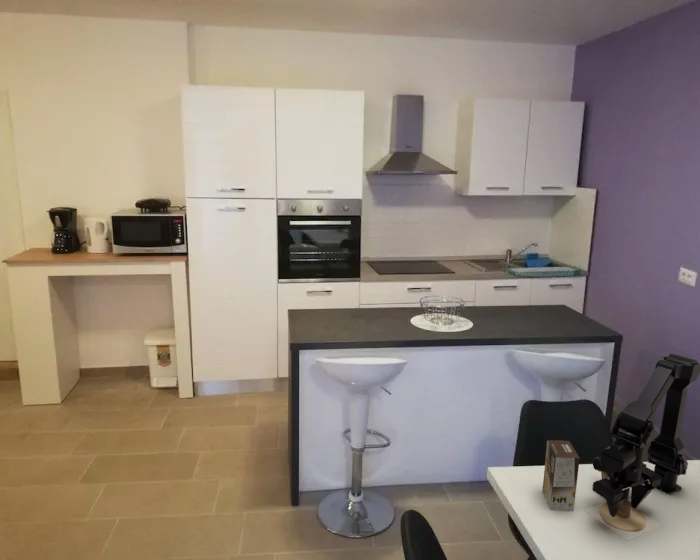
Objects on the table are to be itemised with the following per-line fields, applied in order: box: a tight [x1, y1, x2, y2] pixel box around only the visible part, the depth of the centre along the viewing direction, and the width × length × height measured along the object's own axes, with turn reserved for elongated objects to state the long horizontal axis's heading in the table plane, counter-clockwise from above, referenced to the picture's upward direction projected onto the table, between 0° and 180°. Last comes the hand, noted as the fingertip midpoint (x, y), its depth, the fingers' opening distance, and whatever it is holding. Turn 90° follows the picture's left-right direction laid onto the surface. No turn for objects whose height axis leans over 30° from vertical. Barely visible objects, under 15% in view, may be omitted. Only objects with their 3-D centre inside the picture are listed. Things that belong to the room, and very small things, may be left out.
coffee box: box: [542, 439, 581, 512], centre depth 146 cm, size 9×6×16 cm
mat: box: [584, 500, 663, 541], centre depth 141 cm, size 13×13×1 cm
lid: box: [599, 499, 646, 532], centre depth 140 cm, size 11×11×4 cm
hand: (622, 511), depth 141 cm, fingers open, 8 cm apart
